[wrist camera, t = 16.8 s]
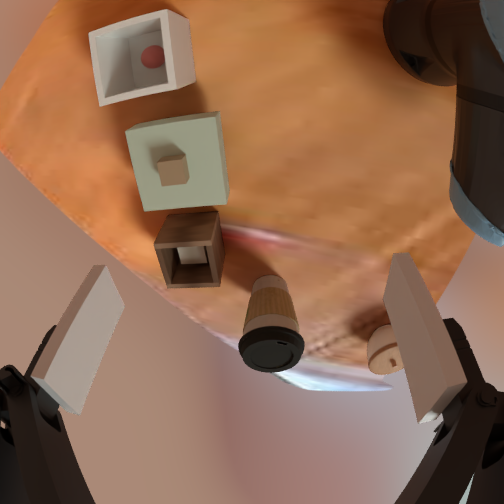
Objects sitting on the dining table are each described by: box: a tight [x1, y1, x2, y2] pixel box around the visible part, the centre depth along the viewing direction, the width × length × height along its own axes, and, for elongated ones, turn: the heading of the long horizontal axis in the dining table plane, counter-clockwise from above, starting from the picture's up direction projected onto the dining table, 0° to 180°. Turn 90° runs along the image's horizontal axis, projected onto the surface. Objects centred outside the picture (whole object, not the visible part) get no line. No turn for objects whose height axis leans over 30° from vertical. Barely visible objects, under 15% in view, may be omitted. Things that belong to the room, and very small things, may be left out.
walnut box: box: [154, 211, 225, 288], centre depth 46 cm, size 8×8×8 cm
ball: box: [141, 45, 165, 69], centre depth 31 cm, size 3×3×3 cm
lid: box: [125, 111, 230, 212], centre depth 36 cm, size 11×11×6 cm
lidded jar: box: [367, 325, 404, 375], centre depth 59 cm, size 11×11×9 cm
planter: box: [88, 9, 196, 107], centre depth 29 cm, size 9×9×10 cm
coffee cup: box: [238, 275, 305, 373], centre depth 49 cm, size 10×10×15 cm
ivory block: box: [177, 246, 208, 264], centre depth 47 cm, size 4×4×4 cm
